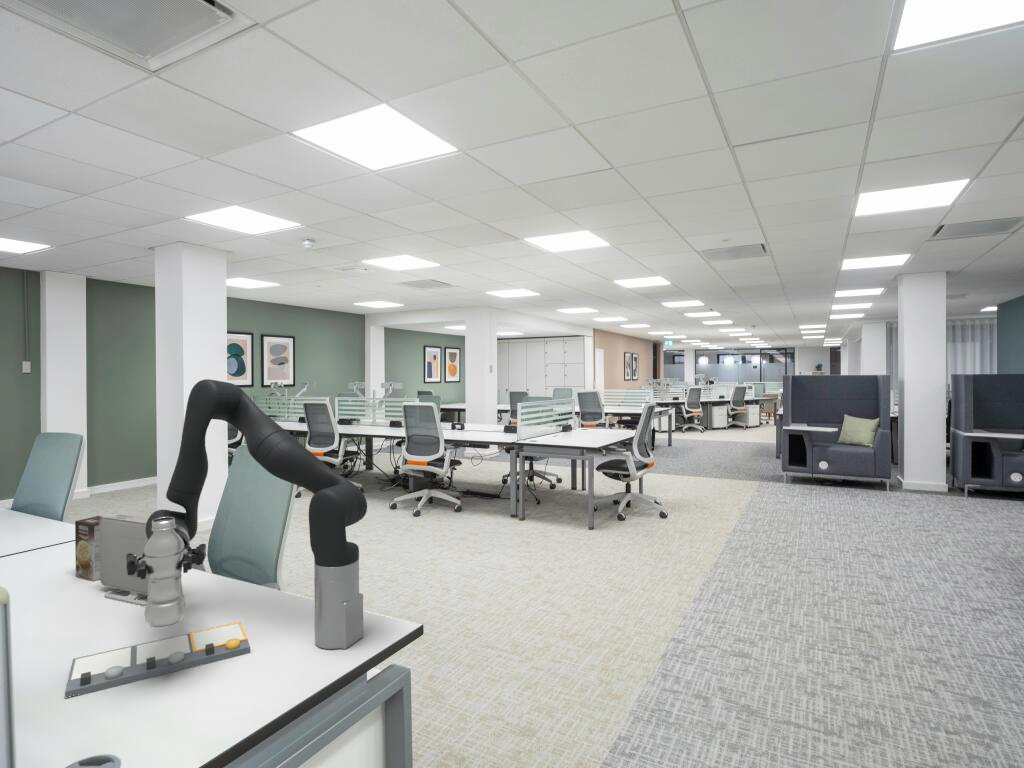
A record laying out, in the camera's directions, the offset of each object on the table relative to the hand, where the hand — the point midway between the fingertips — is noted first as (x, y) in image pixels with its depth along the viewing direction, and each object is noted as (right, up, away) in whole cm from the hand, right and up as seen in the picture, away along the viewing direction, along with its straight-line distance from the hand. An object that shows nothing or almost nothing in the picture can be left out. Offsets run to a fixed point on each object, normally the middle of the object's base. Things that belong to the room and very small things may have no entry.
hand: (164, 570), depth 104 cm
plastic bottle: (-1, -11, +3) cm, 11 cm away
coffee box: (-55, -21, +57) cm, 81 cm away
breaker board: (-6, -21, +10) cm, 24 cm away
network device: (-32, -21, +42) cm, 57 cm away
